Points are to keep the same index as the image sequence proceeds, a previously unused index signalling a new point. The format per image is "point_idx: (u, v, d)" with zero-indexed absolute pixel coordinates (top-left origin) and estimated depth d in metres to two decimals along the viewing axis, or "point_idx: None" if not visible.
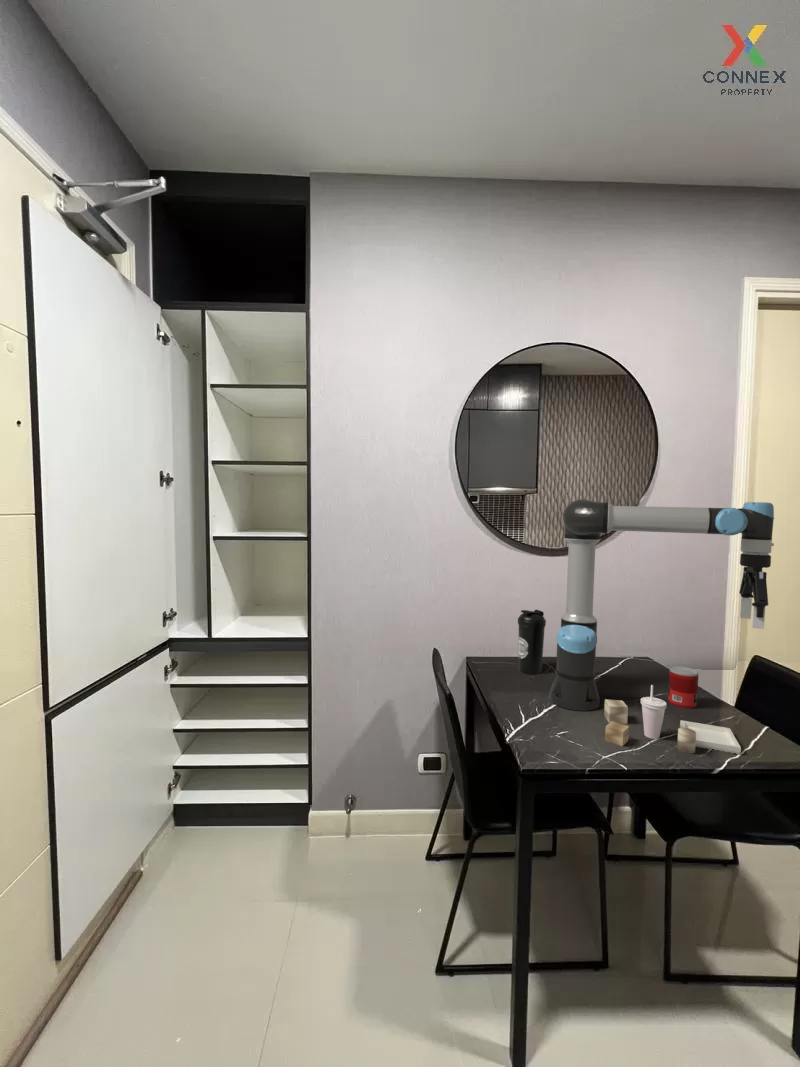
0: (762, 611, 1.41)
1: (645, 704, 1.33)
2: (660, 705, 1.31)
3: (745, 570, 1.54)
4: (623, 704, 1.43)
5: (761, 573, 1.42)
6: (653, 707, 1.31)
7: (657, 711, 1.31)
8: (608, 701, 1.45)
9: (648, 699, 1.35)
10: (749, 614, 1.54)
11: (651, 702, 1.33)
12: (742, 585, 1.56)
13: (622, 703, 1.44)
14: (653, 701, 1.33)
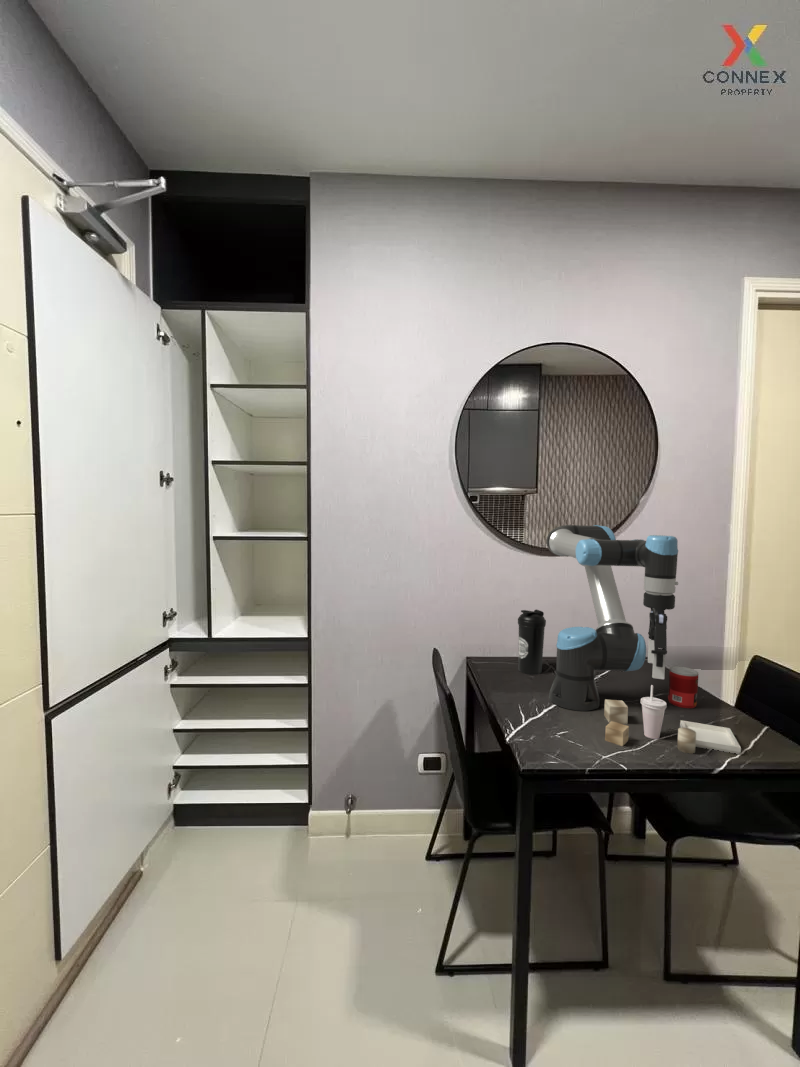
0: (661, 660, 1.25)
1: (645, 704, 1.33)
2: (660, 705, 1.31)
3: (652, 610, 1.38)
4: (623, 704, 1.43)
5: (661, 616, 1.26)
6: (653, 707, 1.31)
7: (657, 711, 1.31)
8: (608, 701, 1.45)
9: (648, 699, 1.35)
10: None
11: (651, 702, 1.33)
12: (650, 626, 1.40)
13: (622, 703, 1.44)
14: (653, 701, 1.33)
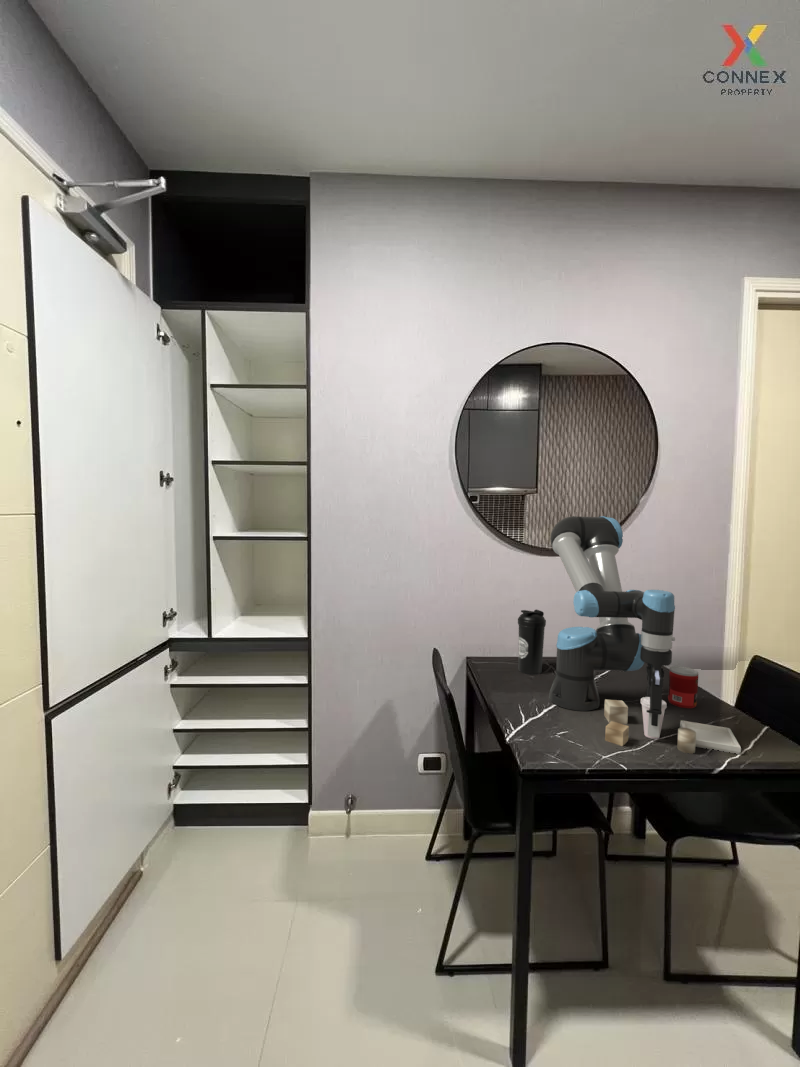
0: (656, 719, 1.29)
1: (645, 704, 1.33)
2: None
3: (649, 666, 1.39)
4: (623, 704, 1.43)
5: (657, 679, 1.27)
6: None
7: None
8: (608, 701, 1.45)
9: (648, 699, 1.35)
10: None
11: None
12: (647, 684, 1.39)
13: (622, 703, 1.44)
14: None
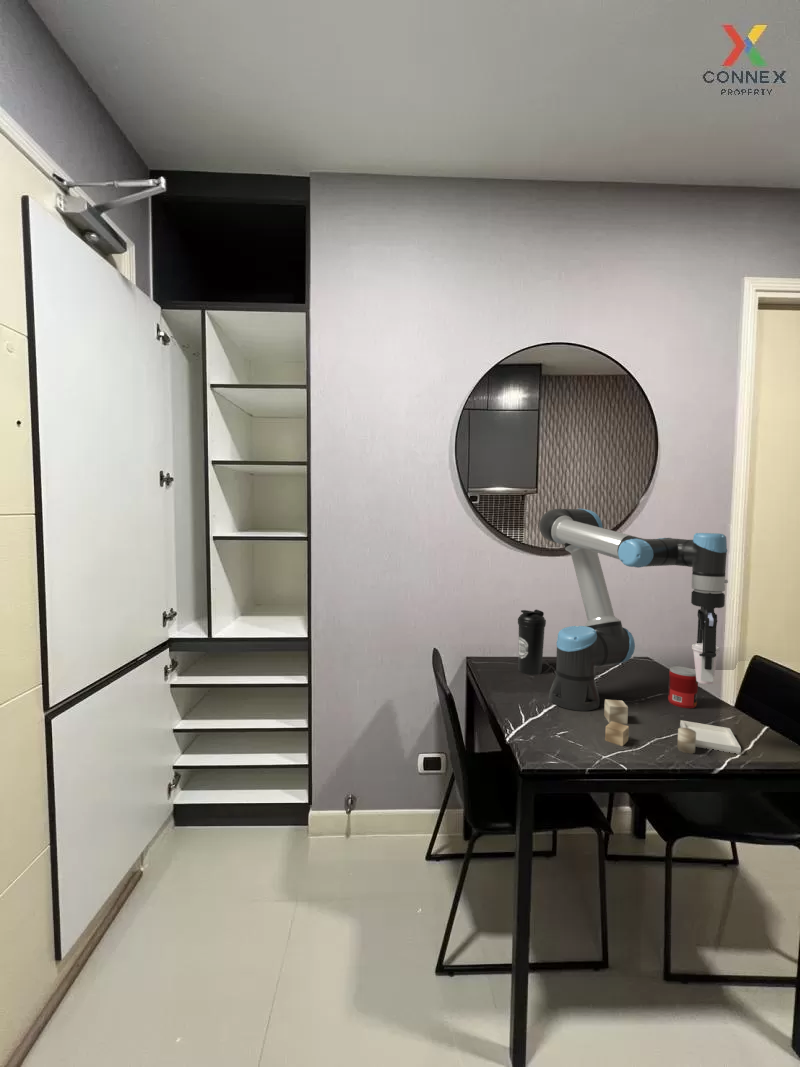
0: (710, 662, 1.26)
1: (697, 649, 1.30)
2: None
3: (699, 612, 1.36)
4: (623, 704, 1.43)
5: (711, 620, 1.24)
6: None
7: None
8: (608, 701, 1.45)
9: (700, 644, 1.32)
10: None
11: None
12: (698, 632, 1.36)
13: (622, 703, 1.44)
14: None
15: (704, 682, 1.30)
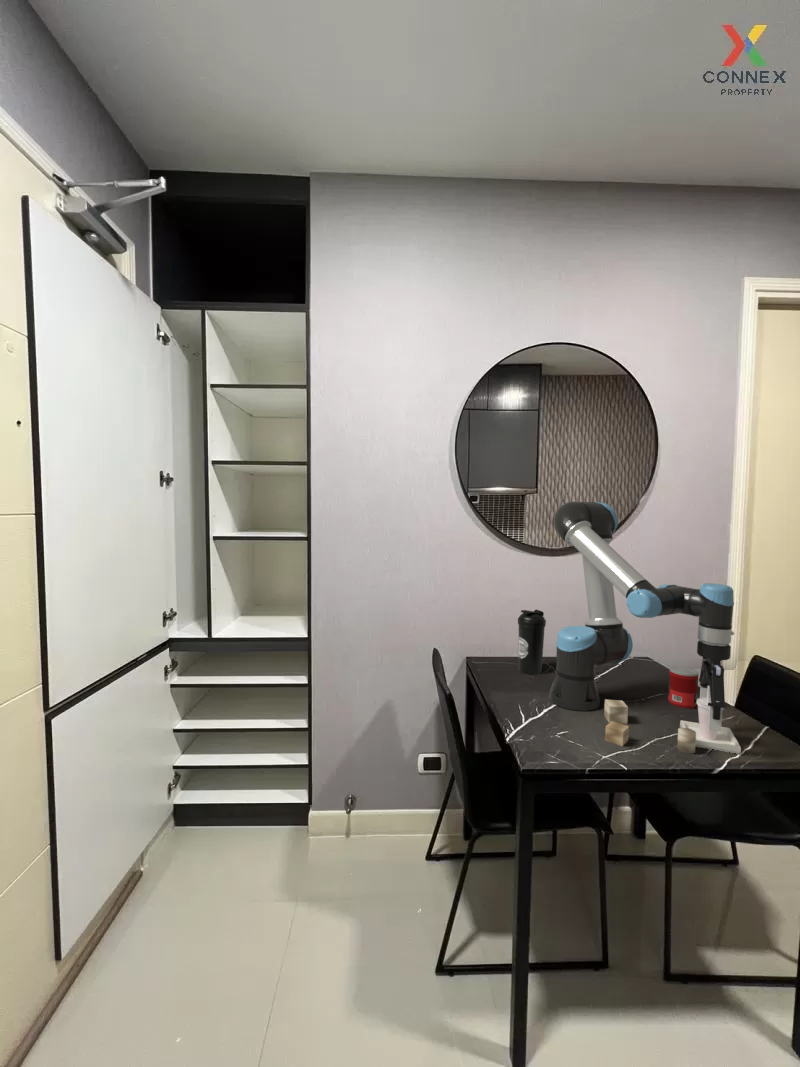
0: (719, 713, 1.24)
1: (702, 705, 1.31)
2: None
3: (704, 657, 1.37)
4: (623, 704, 1.43)
5: (718, 669, 1.25)
6: None
7: None
8: (608, 701, 1.45)
9: (704, 700, 1.33)
10: None
11: None
12: (701, 673, 1.39)
13: (622, 703, 1.44)
14: (710, 702, 1.32)
15: (708, 738, 1.31)
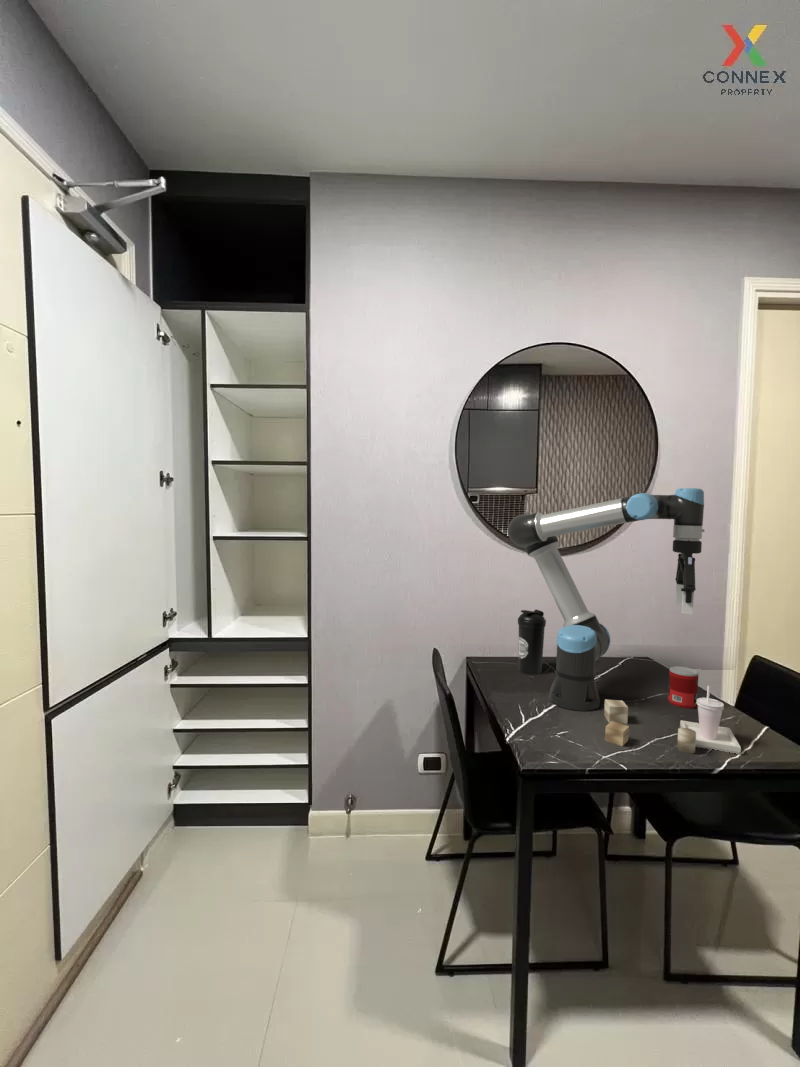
0: (690, 596, 1.41)
1: (702, 705, 1.31)
2: (718, 706, 1.30)
3: (679, 557, 1.54)
4: (623, 704, 1.43)
5: (690, 558, 1.42)
6: (711, 708, 1.30)
7: (715, 712, 1.30)
8: (608, 701, 1.45)
9: (704, 700, 1.33)
10: None
11: (708, 703, 1.31)
12: (677, 572, 1.56)
13: (622, 703, 1.44)
14: (710, 702, 1.32)
15: (708, 738, 1.31)
